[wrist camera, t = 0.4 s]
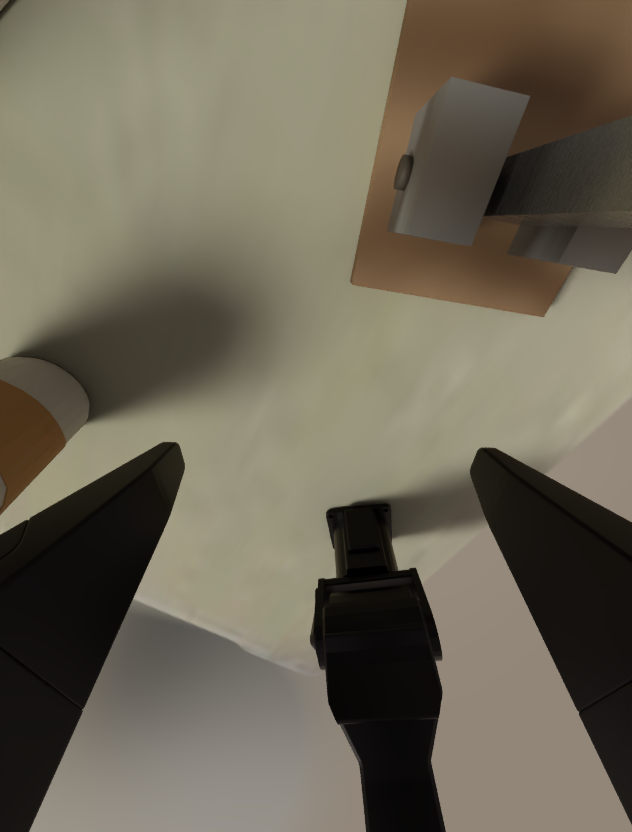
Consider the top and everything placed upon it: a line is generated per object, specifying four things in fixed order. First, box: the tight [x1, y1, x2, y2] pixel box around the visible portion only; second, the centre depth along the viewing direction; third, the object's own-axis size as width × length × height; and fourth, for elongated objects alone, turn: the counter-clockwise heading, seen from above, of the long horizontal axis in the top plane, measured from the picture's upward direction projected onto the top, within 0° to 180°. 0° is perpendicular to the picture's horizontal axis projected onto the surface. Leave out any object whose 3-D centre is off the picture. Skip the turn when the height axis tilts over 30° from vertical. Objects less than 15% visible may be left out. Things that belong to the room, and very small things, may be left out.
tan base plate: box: [350, 0, 632, 317], centre depth 11 cm, size 17×12×7 cm
